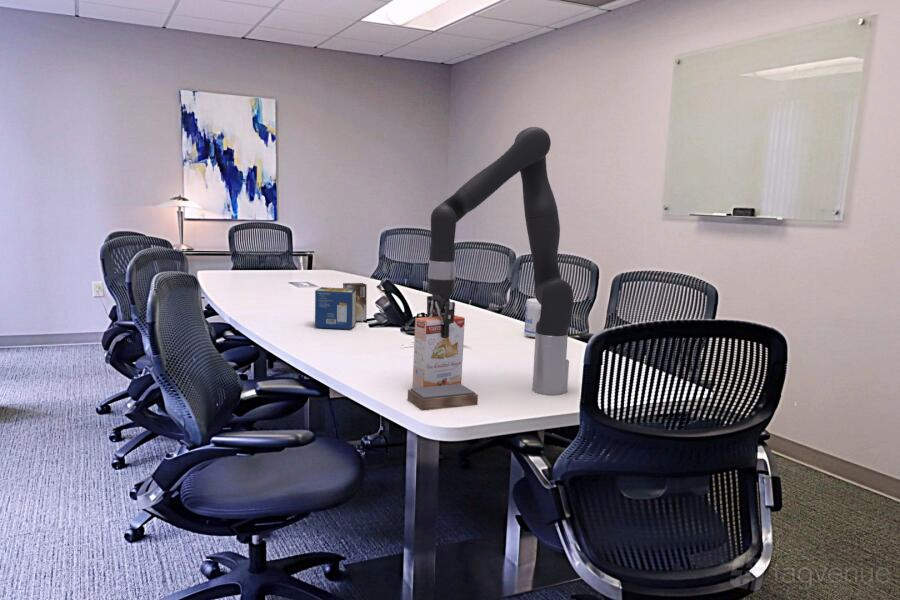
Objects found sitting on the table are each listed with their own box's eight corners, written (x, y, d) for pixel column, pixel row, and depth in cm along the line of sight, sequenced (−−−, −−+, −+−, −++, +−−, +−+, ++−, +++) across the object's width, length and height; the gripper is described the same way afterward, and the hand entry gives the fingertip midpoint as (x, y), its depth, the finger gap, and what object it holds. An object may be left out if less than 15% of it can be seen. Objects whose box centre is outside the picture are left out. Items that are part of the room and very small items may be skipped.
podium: (460, 395, 191) (461, 383, 190) (477, 405, 182) (477, 392, 181) (407, 400, 184) (407, 388, 183) (422, 411, 175) (422, 398, 174)
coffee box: (362, 318, 306) (362, 282, 303) (366, 320, 300) (367, 284, 297) (342, 318, 302) (342, 282, 299) (346, 321, 296) (346, 284, 294)
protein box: (320, 323, 290) (320, 286, 288) (356, 324, 290) (356, 288, 287) (314, 327, 280) (314, 290, 278) (351, 329, 279) (351, 291, 277)
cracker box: (424, 395, 190) (426, 320, 187) (411, 389, 194) (413, 317, 191) (462, 387, 198) (465, 316, 195) (449, 383, 203) (452, 313, 200)
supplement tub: (519, 334, 282) (521, 298, 280) (537, 332, 287) (539, 297, 285) (534, 338, 274) (536, 302, 272) (552, 336, 279) (554, 301, 277)
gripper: (464, 279, 187) (462, 339, 189) (442, 273, 200) (440, 329, 202) (440, 280, 184) (437, 341, 186) (419, 274, 196) (417, 331, 199)
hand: (439, 335), depth 194 cm, fingers closed on cracker box, 6 cm apart
